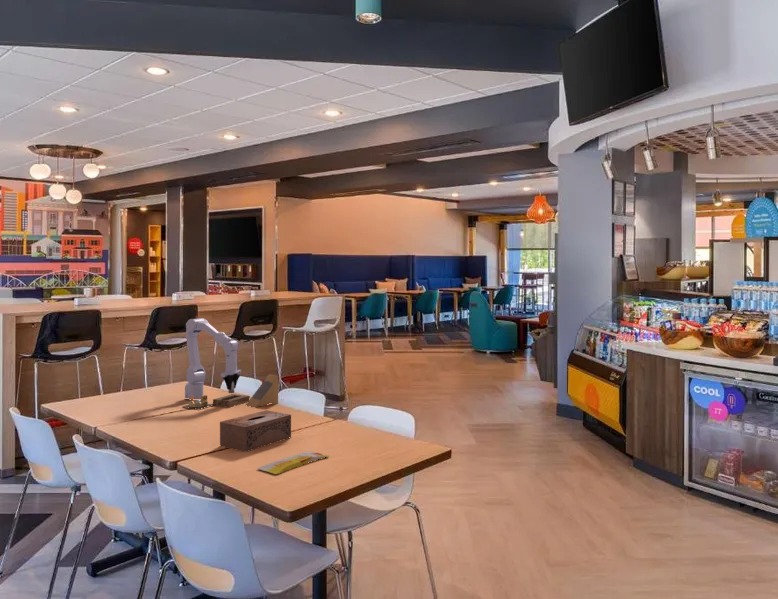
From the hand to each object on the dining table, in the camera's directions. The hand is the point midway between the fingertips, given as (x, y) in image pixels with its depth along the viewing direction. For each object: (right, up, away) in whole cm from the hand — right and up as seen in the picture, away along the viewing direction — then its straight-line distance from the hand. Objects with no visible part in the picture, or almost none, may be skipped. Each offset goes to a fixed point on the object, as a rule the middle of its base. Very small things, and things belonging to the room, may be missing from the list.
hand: (231, 388), depth 327 cm
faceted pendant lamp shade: (-15, -7, -8) cm, 18 cm away
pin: (0, -2, 0) cm, 2 cm away
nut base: (-15, -8, -8) cm, 19 cm away
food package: (+49, -13, -102) cm, 114 cm away
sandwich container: (+16, -8, -2) cm, 18 cm away
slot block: (0, -8, 0) cm, 8 cm away
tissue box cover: (+29, -12, -73) cm, 79 cm away
